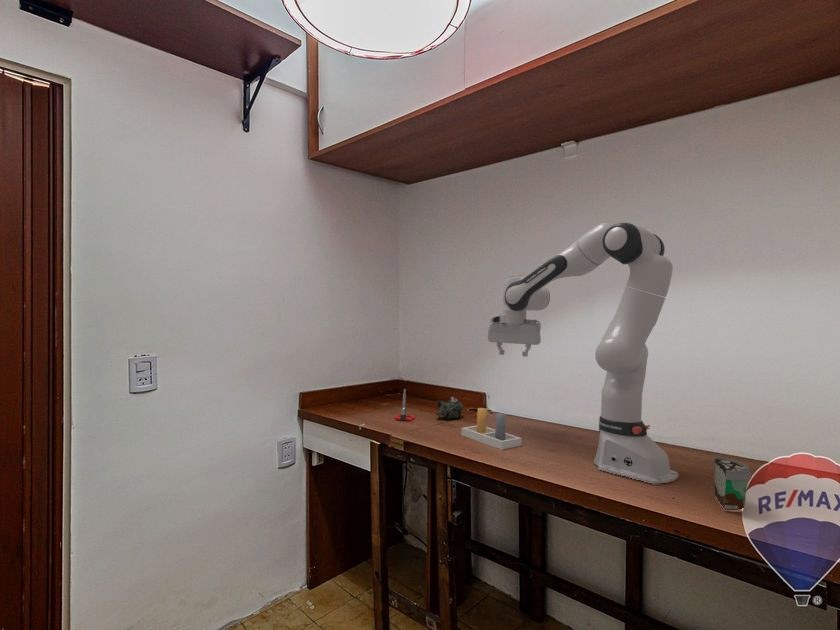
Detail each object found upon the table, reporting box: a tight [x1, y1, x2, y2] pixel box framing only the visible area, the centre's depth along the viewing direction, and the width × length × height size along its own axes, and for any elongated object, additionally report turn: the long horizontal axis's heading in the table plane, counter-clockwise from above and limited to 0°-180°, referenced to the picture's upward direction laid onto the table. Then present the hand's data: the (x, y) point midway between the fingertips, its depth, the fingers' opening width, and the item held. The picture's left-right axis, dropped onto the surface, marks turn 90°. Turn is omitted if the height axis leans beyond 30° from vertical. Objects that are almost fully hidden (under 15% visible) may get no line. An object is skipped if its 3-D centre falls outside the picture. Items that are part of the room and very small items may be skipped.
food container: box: [713, 455, 752, 510], centre depth 107 cm, size 12×6×10 cm, turn 158°
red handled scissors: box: [394, 388, 416, 422], centre depth 187 cm, size 8×13×9 cm
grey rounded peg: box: [495, 412, 507, 441], centre depth 151 cm, size 4×4×10 cm
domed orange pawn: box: [476, 407, 488, 434], centre depth 158 cm, size 4×4×10 cm
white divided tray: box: [461, 425, 522, 451], centre depth 154 cm, size 20×9×4 cm, turn 35°
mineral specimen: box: [435, 396, 465, 420], centre depth 192 cm, size 15×13×10 cm
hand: (513, 355), depth 170 cm, fingers open, 8 cm apart
